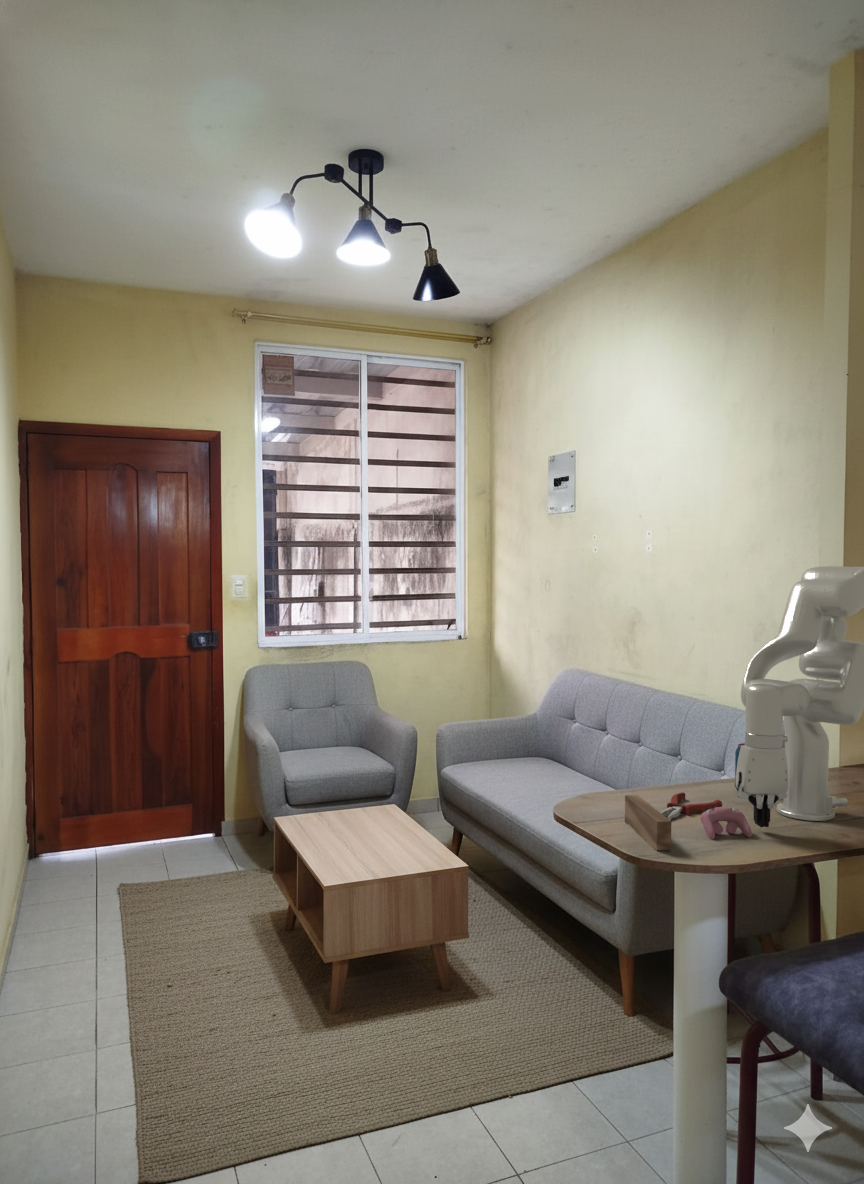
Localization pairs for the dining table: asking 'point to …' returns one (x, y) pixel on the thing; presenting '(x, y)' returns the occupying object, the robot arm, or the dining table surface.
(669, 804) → the pliers
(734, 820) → the video game controller
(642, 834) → the bar
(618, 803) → the dining table surface
